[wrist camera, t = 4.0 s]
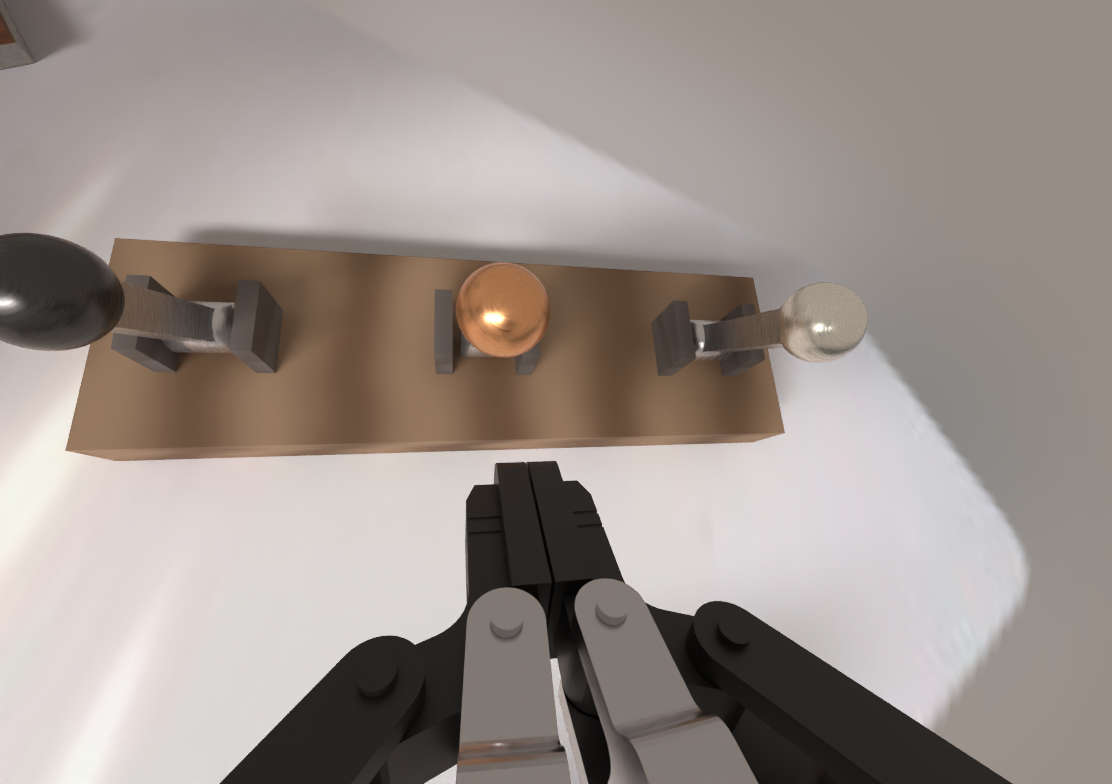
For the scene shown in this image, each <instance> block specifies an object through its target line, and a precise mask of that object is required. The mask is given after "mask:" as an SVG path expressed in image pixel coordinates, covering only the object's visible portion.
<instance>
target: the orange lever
mask: <svg viewBox="0 0 1112 784" xmlns="http://www.w3.org/2000/svg"><path fill="white" fill-rule="evenodd" d="M456 316H457V321H458V324H459V327H460V329H461V357H500V358H509V357H515V356H518V355H521V354H523V353H526V352H527V351H529V350H530V349H532V348H533V347H534V346H535V345H536V344H537V343H538V342H539V341H540V340H541V339H542V337H543V336H544V334H545V332H546V330H547V327H548V324H549V320H550V302H549V298H548V295H547V292H546V290H545V288H544V286H543V285H542V283H541V282H540V280H539V279H538V278H537V277H536V276H535V275H534V274H533V273H531V272H530V271H529V270H527V269H525V268H524V267H521V266H519V265H516V264H512V263H505V262H499V263H492V264H489V265H486V266H484V267H481V268H479V269H478V270H476V271H475V272H473V273H472V274H471V275H470V276H469V277H468V278H467V279H466V281H465V282H464V284H463V285H462V287H461V289H460V291H459V294H458V297H457V302H456Z"/></svg>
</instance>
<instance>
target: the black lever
mask: <svg viewBox="0 0 1112 784" xmlns="http://www.w3.org/2000/svg"><path fill="white" fill-rule="evenodd" d="M234 310H235V303H232V302H205V301H187V300H184V299H180V298H177V297H174V296H170V295H167V294H163V293H160V292H157V291H153V290H150V289H146V288H143V287H140V286H136V285H133V284H130V283H126V282H123V281H119V279H118V277H117V276H116V274H115V273H114V271H113V270H112V269H111V268H110V267H109V266H108V265H107V264H106V263H105V262H104V261H103V260H102V259H101V258H99V257H98V256H97V255H95V254H94V253H92V252H91V251H89V250H87V249H86V248H84V247H82V246H80V245H77V244H75V243H73V242H71V241H68V240H65V239H62V238H58V237H54V236H50V235H43V234H35V233H13V234H5V235H0V340H1V341H3V342H6V343H9V344H12V345H16V346H19V347H22V348H28V349H34V350H44V351H59V350H69V349H75V348H79V347H83V346H86V345H88V344H91V343H94V342H96V341H98V340H100V339H101V338H103V337H104V336H106V335H107V334H108V333H110V332H111V333H118V334H125V335H133V336H140V337H147V338H155V339H162V341H163V343H164V344H165V346H166V347H167V348H168V349H169V350H170V351H172V352H195V353H231V352H230V351H229V345H230V338H231V331H232V324H233V317H234Z"/></svg>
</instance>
